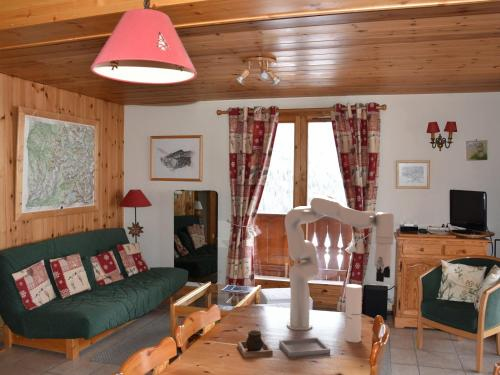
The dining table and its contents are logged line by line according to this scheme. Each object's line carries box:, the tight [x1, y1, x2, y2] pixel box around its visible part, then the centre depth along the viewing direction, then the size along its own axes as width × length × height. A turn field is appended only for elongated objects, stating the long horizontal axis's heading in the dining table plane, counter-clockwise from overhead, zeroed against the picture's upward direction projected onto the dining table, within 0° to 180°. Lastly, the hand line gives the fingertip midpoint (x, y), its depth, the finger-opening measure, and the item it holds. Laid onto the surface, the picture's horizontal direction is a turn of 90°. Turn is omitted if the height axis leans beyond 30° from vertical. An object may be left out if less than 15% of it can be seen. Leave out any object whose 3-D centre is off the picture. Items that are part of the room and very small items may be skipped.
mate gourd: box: [245, 329, 263, 352], centre depth 193 cm, size 7×8×10 cm
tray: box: [278, 337, 331, 359], centre depth 194 cm, size 14×18×2 cm
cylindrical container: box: [344, 283, 363, 343], centre depth 208 cm, size 7×7×25 cm
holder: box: [237, 339, 273, 359], centre depth 193 cm, size 13×12×2 cm
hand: (383, 279), depth 198 cm, fingers open, 9 cm apart
